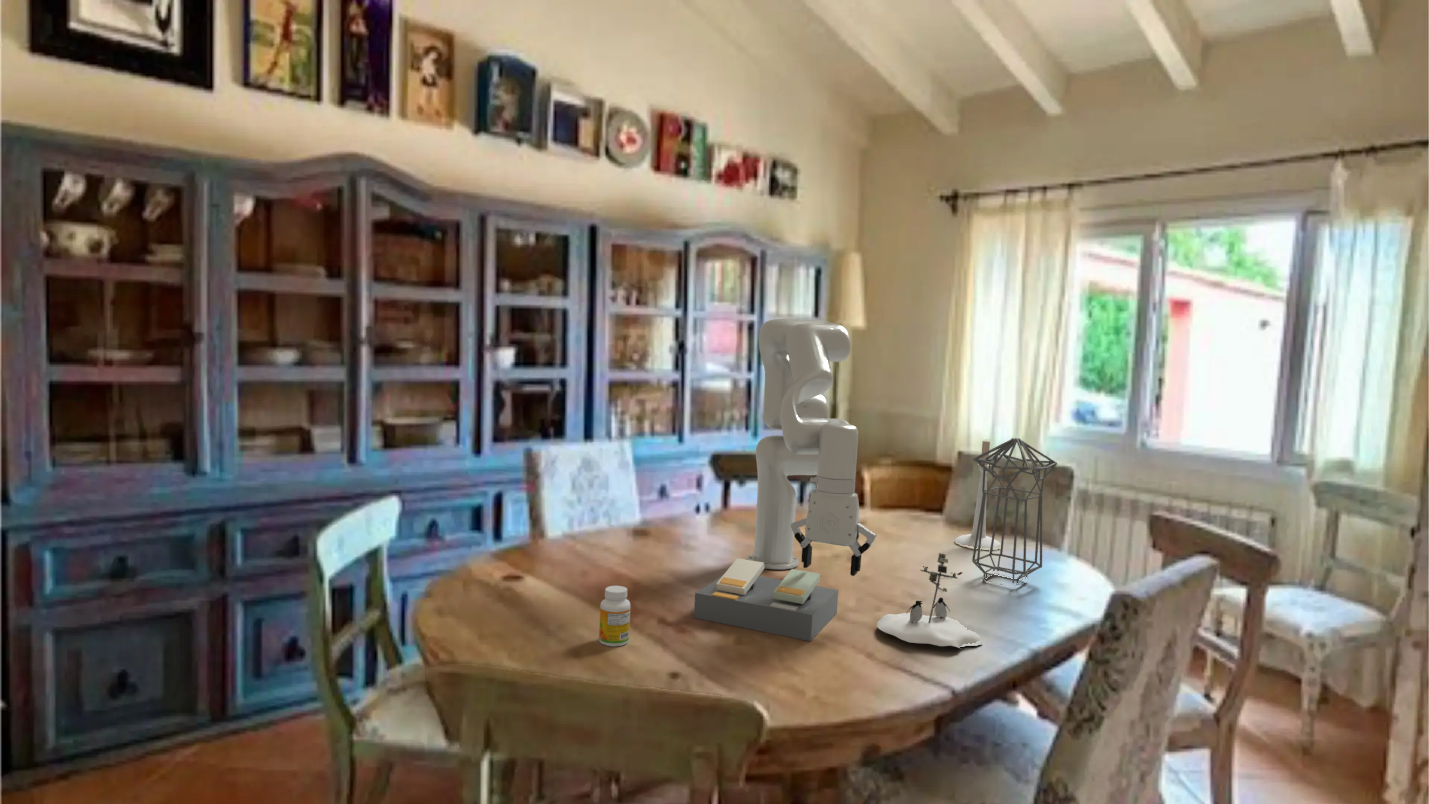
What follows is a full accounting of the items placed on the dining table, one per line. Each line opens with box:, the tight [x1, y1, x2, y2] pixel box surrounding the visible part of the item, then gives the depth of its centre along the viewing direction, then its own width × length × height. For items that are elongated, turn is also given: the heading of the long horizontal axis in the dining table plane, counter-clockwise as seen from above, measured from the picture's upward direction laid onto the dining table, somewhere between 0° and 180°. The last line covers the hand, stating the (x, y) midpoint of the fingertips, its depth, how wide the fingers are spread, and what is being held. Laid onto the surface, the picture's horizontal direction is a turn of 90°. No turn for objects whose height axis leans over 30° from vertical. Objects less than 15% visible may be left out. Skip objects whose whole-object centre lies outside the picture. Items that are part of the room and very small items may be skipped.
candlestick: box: [954, 439, 1001, 548], centre depth 238 cm, size 13×13×30 cm
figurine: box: [876, 552, 981, 649], centre depth 164 cm, size 20×18×16 cm
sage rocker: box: [773, 568, 821, 604], centre depth 168 cm, size 11×6×2 cm, turn 156°
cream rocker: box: [716, 557, 765, 595], centre depth 172 cm, size 11×6×2 cm, turn 156°
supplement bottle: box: [598, 585, 631, 647], centre depth 152 cm, size 5×5×10 cm
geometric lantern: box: [971, 437, 1058, 584], centre depth 201 cm, size 16×16×35 cm
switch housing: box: [693, 575, 839, 642], centre depth 170 cm, size 18×24×6 cm
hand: (830, 570), depth 169 cm, fingers open, 9 cm apart
